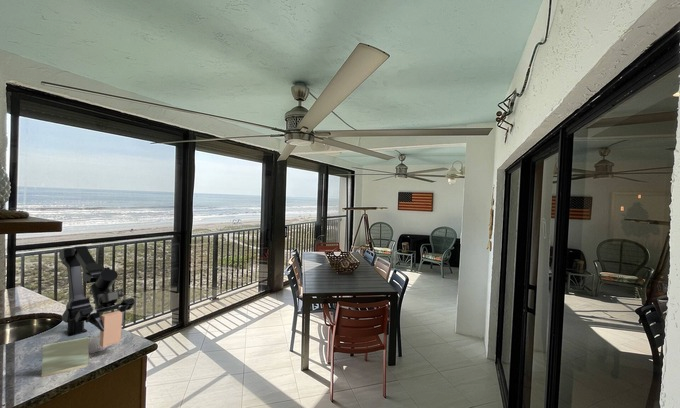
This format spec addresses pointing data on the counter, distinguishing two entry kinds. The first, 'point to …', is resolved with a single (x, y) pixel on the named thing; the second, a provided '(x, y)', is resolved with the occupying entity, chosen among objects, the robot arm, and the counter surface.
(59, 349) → the pale green box
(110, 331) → the salmon pink block
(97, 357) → the counter surface
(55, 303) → the counter surface
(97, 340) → the seashell
